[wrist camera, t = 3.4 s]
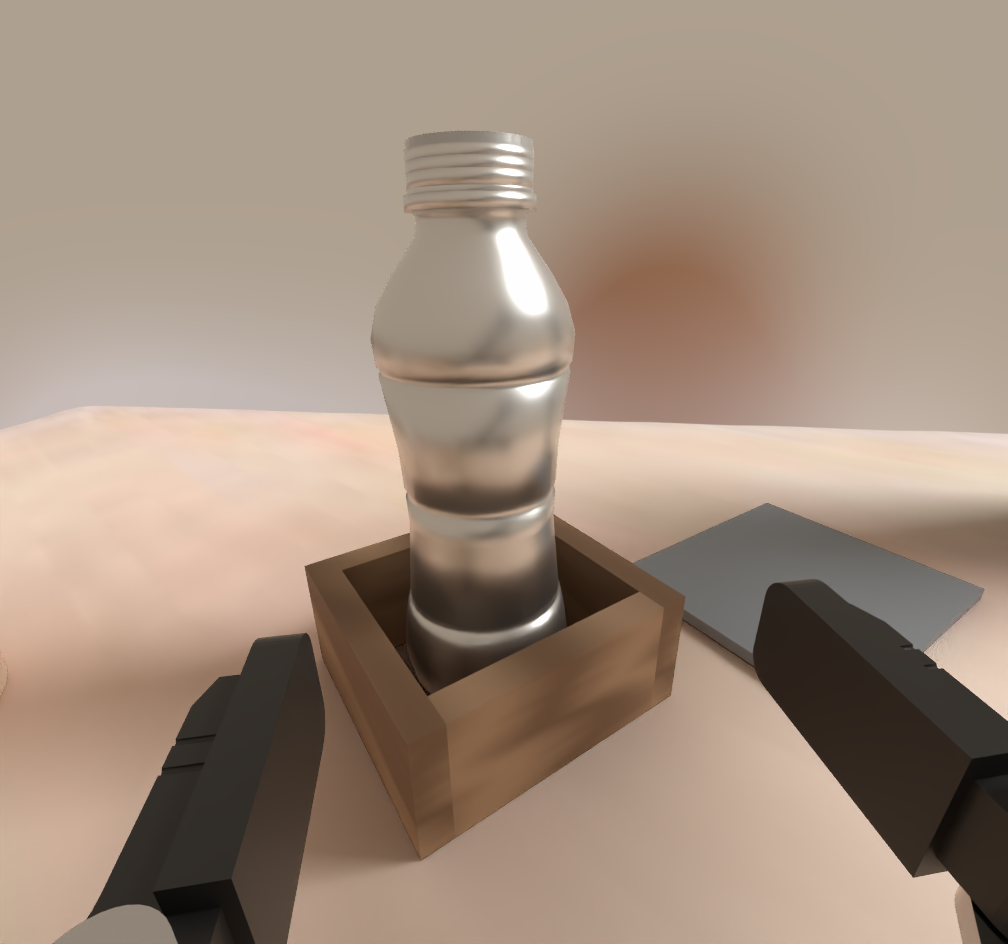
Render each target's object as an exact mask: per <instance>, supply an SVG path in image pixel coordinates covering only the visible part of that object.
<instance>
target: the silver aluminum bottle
mask: <svg viewBox="0 0 1008 944" xmlns="http://www.w3.org/2000/svg"><path fill="white" fill-rule="evenodd" d="M404 159H405V175H406V189H407V190H406V191H407V195H404V196H403V199H404V212H405V213H411V214H414V216H415V222H416V224H415V234H414V239H413V240H412V242H411V244H410V245H409V247H408V248H407V251H406V252H405V253H404V255H403V257H402V258H401V260H400V261H399V263H398V265H397V266H396V268H395V269H394V271H393V273H392V274H391V276H390V278H389V280H388V282H387V285H386V286H385V289H384V290H383V293H382V294H381V296H380V298H379V300H378V303H377V305H376V307H375V314H374V320H373V325H372V332H371V344H372V348H373V354H374V358H375V365H376V368H378V369H379V371H380V372H379V379H380V383H381V387H382V391H383V395H384V398H385V402H386V405H387V409H388V413H389V417H390V421H391V424H392V428H393V432H394V436H395V439H396V443H397V447H398V451H399V457H400V463H401V470H402V476H403V482H404V488H405V489H406V491H407V494H406V499H407V506H408V512H409V518H410V567H411V589H410V593H409V599H408V606H407V618H406V646H407V650H408V653H409V655H410V658H411V661H412V664H413V667H414V670H415V672H416V675H417V677H418V680H419V682H420V683H421V684H422V686H423V687H424V688H425V690H426V691H428V692H429V693H430V694H433V693H435V692H437V691H439V690H441V689H443V688H445V687H447V686H449V685H451V684H453V683H455V682H457V681H459V680H461V679H463V678H465V677H467V676H469V675H471V674H473V673H475V672H478V671H480V670H482V669H484V668H486V667H488V666H490V665H492V664H494V663H496V662H498V661H500V660H502V659H504V658H506V657H508V656H510V655H512V654H514V653H516V652H518V651H520V650H522V649H524V648H526V647H528V646H530V645H532V644H534V643H536V642H538V641H540V640H542V639H544V638H547V637H549V636H551V635H553V634H555V633H557V632H559V631H561V630H563V629H565V628H567V622H566V614H565V606H564V601H563V595H562V591H561V587H560V583H559V580H558V570H557V557H556V544H555V531H554V517H553V509H554V496H555V489H554V483H555V479H556V469H557V455H558V441H559V434H560V428H561V423H562V416H563V410H564V405H565V399H566V393H567V387H568V381H569V375H570V370H571V369H570V367H569V364H570V363H571V362H572V359H573V346H574V338H575V330H574V325H573V321H572V318H571V314H570V309H569V306H568V302H567V301H566V299H565V297H564V295H563V293H562V291H561V289H560V287H559V285H558V283H557V282H556V280H555V278H554V276H553V274H552V272H551V271H550V269H549V268H548V266H547V265H546V263H545V262H544V260H543V259H542V257H541V256H540V254H539V253H538V251H537V250H536V248H535V246H534V245H533V244H532V242H531V241H530V239H529V238H528V235H527V227H526V214H527V213H528V212H535V211H536V204H537V203H536V201H537V195H536V194H533V182H534V149H533V140H532V139H530V138H528V137H525V136H521V135H516V134H511V133H502V132H489V131H451V132H437V133H428V134H422V135H417V136H413V137H410V138H408V139H406V140H405V149H404Z"/></svg>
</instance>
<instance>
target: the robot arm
mask: <svg viewBox="0 0 1008 944" xmlns="http://www.w3.org/2000/svg"><path fill="white" fill-rule="evenodd" d="M753 661H754V666H755V670H756V672H757V675H758V677H759V679H760V681H761V683H762V684H763V686H764V687H765V688H766V690H767V691H768V692H769V694H770V695H771V696H772V697H773V699H774V700H775V701H776V703H777V704H778V705H779V706H780V708H781V709H782V710H783V711H784V713H785V714H786V715H787V717H788V718H789V719H790V720H791V722H792V723H793V724H794V726H795V727H796V728H797V729H798V731H799V732H800V733H801V735H802V736H803V737H804V738H805V740H806V741H807V742H808V744H809V745H810V746H811V747H812V749H813V750H814V751H815V752H816V754H817V755H818V756H819V758H820V759H821V760H822V761H823V763H824V764H825V765H826V767H827V768H828V769H829V770H830V772H831V773H832V774H833V776H834V777H835V778H836V779H837V781H838V782H839V783H840V784H841V786H842V787H843V788H844V790H845V791H846V792H847V793H848V795H849V796H850V797H851V799H852V800H853V801H854V802H855V804H856V805H857V806H858V808H859V809H860V810H861V811H862V813H863V814H864V815H865V817H866V818H867V819H868V820H869V822H870V823H871V824H872V825H873V827H874V828H875V829H876V831H877V832H878V833H879V834H880V836H881V837H882V838H883V840H884V841H885V842H886V843H887V845H888V846H889V847H890V849H891V850H892V851H893V852H894V854H895V855H896V856H897V858H898V859H899V860H900V861H901V863H902V864H903V865H904V866H905V868H906V869H907V870H908V872H909V873H910V874H911V875H912V877H913V878H914V877H919V876H924V875H929V874H934V873H939V872H944V871H948V872H949V873H950V874H951V875H952V876H953V877H954V879H955V880H956V881H957V882H958V883H959V885H960V886H959V887H958V889H957V891H956V894H955V908H956V913H957V918H958V923H959V928H960V933H961V938H962V943H963V944H1008V721H1007V720H1006V719H1004V718H1003V717H1002V716H1001V715H999V714H998V713H997V712H996V711H994V710H993V709H992V708H991V707H990V706H988V705H987V704H986V703H985V702H983V701H982V700H981V699H980V698H978V697H977V696H976V695H975V694H974V693H972V692H971V691H970V690H969V689H967V688H966V687H965V686H964V685H962V684H961V683H960V682H959V681H958V680H956V679H955V678H954V677H953V676H951V675H950V674H949V673H948V672H946V671H945V670H944V669H943V668H942V669H938V668H937V666H936V663H935V662H934V661H933V660H932V659H930V658H929V657H928V656H927V655H925V654H924V653H923V652H922V651H921V650H919V649H914V648H913V644H912V643H911V642H909V641H908V640H907V639H906V638H905V637H903V636H902V635H901V634H900V633H898V632H897V631H896V630H895V629H893V628H892V627H891V626H890V625H889V624H887V623H886V622H885V621H883V620H881V619H879V618H877V617H875V616H873V615H871V614H869V613H868V612H866V611H864V610H862V609H860V608H858V607H856V606H854V605H852V604H849V603H848V602H847V601H846V600H844V599H843V598H842V597H841V596H840V595H838V594H837V593H836V592H835V591H834V590H832V589H831V588H830V587H829V586H828V585H826V584H825V583H824V582H822V581H820V580H818V579H805V580H796V581H787V582H778V583H773V584H771V585H770V586H769V587H768V589H767V591H766V594H765V598H764V603H763V607H762V612H761V616H760V621H759V625H758V629H757V634H756V638H755V643H754V647H753ZM324 733H325V711H324V702H323V697H322V692H321V687H320V683H319V678H318V673H317V668H316V663H315V658H314V653H313V649H312V644H311V640H310V637H309V635H308V634H307V633H302V634H293V635H284V636H275V637H266V638H258V639H257V640H255V642H254V643H253V645H252V647H251V650H250V652H249V655H248V657H247V660H246V662H245V665H244V667H243V670H242V672H241V675H233V676H224V677H219V678H218V679H217V680H216V681H215V682H214V683H213V684H212V685H211V686H210V688H209V689H208V690H207V691H206V692H205V693H204V694H203V695H202V696H201V697H200V698H199V699H198V700H197V701H196V702H195V703H194V704H193V705H192V707H191V709H190V711H189V713H188V715H187V717H186V719H185V721H184V723H183V725H182V727H181V729H180V731H179V734H178V736H177V738H176V744H175V746H172V748H171V750H170V752H169V754H168V756H167V758H166V760H165V763H164V765H163V767H162V774H161V776H158V777H157V779H156V781H155V783H154V785H153V787H152V790H151V792H150V794H149V796H148V798H147V800H146V802H145V804H144V806H143V808H142V810H141V812H140V814H139V816H138V819H137V821H136V823H135V825H134V827H133V829H132V831H131V833H130V835H129V837H128V839H127V841H126V843H125V846H124V848H123V850H122V852H121V854H120V856H119V858H118V860H117V862H116V864H115V866H114V868H113V870H112V872H111V875H110V877H109V879H108V881H107V883H106V885H105V887H104V889H103V891H102V893H101V895H100V897H99V899H98V901H97V903H96V905H95V906H94V908H93V910H92V912H91V913H90V915H89V916H88V918H87V919H86V920H85V921H83V922H82V923H80V924H79V925H77V926H75V927H74V928H72V929H71V930H69V931H68V932H67V933H65V934H64V935H63V936H62V937H60V938H59V939H58V940H56V941H55V942H54V943H53V944H287V938H288V933H289V928H290V922H291V917H292V911H293V906H294V900H295V895H296V890H297V884H298V879H299V873H300V868H301V862H302V857H303V852H304V846H305V841H306V835H307V830H308V824H309V819H310V814H311V808H312V803H313V797H314V792H315V787H316V781H317V776H318V770H319V765H320V759H321V754H322V749H323V743H324Z"/></svg>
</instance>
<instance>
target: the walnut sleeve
mask: <svg viewBox="0 0 1008 944" xmlns="http://www.w3.org/2000/svg"><path fill="white" fill-rule="evenodd" d="M553 517H554V531H555V544H556V557H557V570H558V580H559V583H560V587H561V591H562V595H563V601H564V606H565V614H566V622H567V628H565V629H563V630H561V631H559V632H557V633H555V634H553V635H551V636H549V637H547V638H544V639H542V640H540V641H538V642H536V643H534V644H532V645H530V646H528V647H526V648H524V649H522V650H520V651H518V652H516V653H514V654H512V655H510V656H508V657H506V658H504V659H502V660H500V661H498V662H496V663H494V664H492V665H490V666H488V667H486V668H484V669H482V670H480V671H478V672H475V673H473V674H471V675H469V676H467V677H465V678H463V679H461V680H459V681H457V682H455V683H453V684H451V685H449V686H447V687H445V688H443V689H441V690H439V691H437V692H435V693H433V694H431V695H429V696H427V695H426V694H425V692H424V691H423V689H422V688H421V686H420V685H419V683H418V682H417V680H416V679H415V677H414V676H413V674H412V673H411V671H410V670H409V669H408V667H407V666H406V664H405V663H404V661H403V660H402V658H401V657H400V655H399V654H398V652H397V651H396V649H395V648H394V647H396V646H398V645H401V644H403V643H406V618H407V606H408V599H409V593H410V589H411V567H410V533H408V534H405V535H402V536H399V537H395V538H392V539H389V540H386V541H383V542H380V543H376V544H373V545H370V546H367V547H364V548H361V549H357V550H354V551H351V552H348V553H345V554H342V555H338V556H335V557H332V558H329V559H326V560H322V561H319V562H316V563H313V564H310V565H307V566H305V571H306V576H307V581H308V586H309V591H310V597H311V602H312V607H313V612H314V617H315V622H316V627H317V632H318V638H319V643H320V648H321V653H322V658H323V660H324V662H325V664H326V666H327V668H328V670H329V673H330V675H331V677H332V679H333V681H334V683H335V685H336V687H337V689H338V691H339V693H340V695H341V697H342V699H343V701H344V703H345V705H346V707H347V710H348V712H349V714H350V716H351V718H352V720H353V722H354V724H355V726H356V728H357V730H358V732H359V734H360V736H361V738H362V740H363V742H364V744H365V747H366V749H367V751H368V753H369V755H370V757H371V759H372V761H373V763H374V765H375V767H376V769H377V771H378V773H379V775H380V777H381V779H382V781H383V784H384V786H385V788H386V790H387V792H388V794H389V796H390V798H391V800H392V802H393V804H394V806H395V808H396V810H397V812H398V814H399V816H400V818H401V821H402V823H403V825H404V827H405V829H406V831H407V833H408V835H409V837H410V839H411V841H412V843H413V845H414V847H415V849H416V851H417V853H418V855H419V858H420V860H422V859H424V858H425V857H427V856H428V855H430V854H431V853H433V852H434V851H436V850H437V849H439V848H440V847H442V846H443V845H445V844H446V843H448V842H449V841H451V840H452V839H454V838H455V837H457V836H459V835H460V834H462V833H463V832H465V831H466V830H468V829H469V828H471V827H472V826H474V825H475V824H477V823H478V822H480V821H481V820H483V819H484V818H486V817H487V816H489V815H490V814H492V813H493V812H495V811H496V810H498V809H499V808H501V807H502V806H504V805H505V804H507V803H508V802H510V801H511V800H513V799H514V798H516V797H517V796H519V795H521V794H522V793H524V792H525V791H527V790H528V789H530V788H531V787H533V786H534V785H536V784H537V783H539V782H540V781H542V780H543V779H545V778H546V777H548V776H549V775H551V774H552V773H554V772H555V771H557V770H558V769H560V768H561V767H563V766H564V765H566V764H567V763H569V762H570V761H572V760H573V759H575V758H576V757H578V756H579V755H581V754H583V753H584V752H586V751H587V750H589V749H590V748H592V747H593V746H595V745H596V744H598V743H599V742H601V741H602V740H604V739H605V738H607V737H608V736H610V735H611V734H613V733H614V732H616V731H617V730H619V729H620V728H622V727H623V726H625V725H626V724H628V723H629V722H631V721H632V720H634V719H635V718H637V717H638V716H640V715H641V714H643V713H645V712H646V711H648V710H649V709H651V708H652V707H654V706H655V705H657V704H658V703H660V702H661V701H663V700H664V699H666V698H667V697H669V696H670V695H671V690H672V683H673V676H674V670H675V663H676V657H677V650H678V643H679V637H680V630H681V624H682V617H683V611H684V604H685V597H686V596H684V595H682V594H681V593H679V592H677V591H676V590H674V589H673V588H671V587H669V586H668V585H666V584H665V583H663V582H661V581H660V580H658V579H657V578H655V577H653V576H652V575H650V574H648V573H647V572H645V571H644V570H642V569H640V568H639V567H637V566H636V565H634V564H632V563H631V562H629V561H628V560H626V559H624V558H623V557H621V556H620V555H618V554H616V553H615V552H613V551H611V550H610V549H608V548H607V547H605V546H603V545H602V544H600V543H599V542H597V541H595V540H594V539H592V538H591V537H589V536H587V535H586V534H584V533H583V532H581V531H579V530H578V529H576V528H574V527H573V526H571V525H570V524H568V523H566V522H565V521H563V520H562V519H560V518H558V517H557V516H555V515H554V514H553Z"/></svg>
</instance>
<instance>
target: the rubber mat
mask: <svg viewBox="0 0 1008 944" xmlns="http://www.w3.org/2000/svg"><path fill="white" fill-rule="evenodd" d="M632 564H634V565H636V566H637V567H639V568H640V569H642V570H644V571H645V572H647V573H648V574H650V575H652V576H653V577H655V578H657V579H658V580H660V581H661V582H663V583H665V584H666V585H668V586H669V587H671V588H673V589H674V590H676V591H677V592H679V593H681V594H682V595H684V596H686V597H685V604H684V611H683V617H682V619H683V620H685V621H686V622H688V623H689V624H691V625H692V626H694V627H695V628H697V629H698V630H700V631H701V632H703V633H704V634H706V635H707V636H709V637H710V638H712V639H713V640H715V641H716V642H718V643H719V644H721V645H722V646H724V647H725V648H727V649H728V650H730V651H731V652H733V653H734V654H736V655H737V656H739V657H740V658H742V659H743V660H745V661H746V662H748V663H749V664H751V665H752V666H754V661H753V647H754V643H755V638H756V634H757V629H758V625H759V621H760V616H761V612H762V607H763V603H764V598H765V594H766V591H767V589H768V587H769V586H770V585H771V584H773V583H778V582H787V581H796V580H805V579H818V580H820V581H822V582H824V583H825V584H826V585H828V586H829V587H830V588H831V589H832V590H834V591H835V592H836V593H837V594H838V595H840V596H841V597H842V598H843V599H844V600H846V601H847V602H848V603H849V604H852V605H854V606H856V607H858V608H860V609H862V610H864V611H866V612H868V613H869V614H871V615H873V616H875V617H877V618H879V619H881V620H883V621H885V622H886V623H887V624H889V625H890V626H891V627H892V628H893V629H895V630H896V631H897V632H898V633H900V634H901V635H902V636H903V637H905V638H906V639H907V640H908V641H909V642H911V643H912V644H913V648H914V649H919V650H921V651H922V652H924V651H925V650H926V649H927V648H928V647H930V646H931V645H932V644H933V643H934V642H935V641H936V640H937V639H938V638H939V637H940V636H941V635H942V634H943V633H944V632H946V631H947V630H948V629H949V628H950V627H951V626H952V625H953V624H954V623H955V622H956V621H957V620H958V619H959V618H961V617H962V616H963V615H964V614H965V613H966V612H967V611H968V610H969V609H970V608H971V607H972V606H973V605H974V604H975V603H977V602H978V601H979V600H980V599H981V597H982V594H983V592H984V589H983V588H980V587H978V586H975V585H973V584H970V583H968V582H965V581H962V580H960V579H957V578H955V577H952V576H950V575H947V574H945V573H942V572H940V571H937V570H935V569H932V568H930V567H927V566H925V565H922V564H920V563H917V562H915V561H912V560H910V559H907V558H905V557H902V556H900V555H897V554H895V553H892V552H890V551H887V550H884V549H882V548H879V547H877V546H874V545H872V544H869V543H867V542H864V541H862V540H859V539H857V538H854V537H852V536H849V535H847V534H844V533H842V532H839V531H837V530H834V529H832V528H829V527H827V526H824V525H822V524H819V523H817V522H814V521H812V520H809V519H807V518H804V517H801V516H799V515H796V514H794V513H791V512H789V511H786V510H784V509H781V508H779V507H776V506H774V505H771V504H769V503H766V504H763V505H761V506H759V507H757V508H755V509H752V510H750V511H748V512H746V513H743V514H741V515H739V516H737V517H735V518H732V519H730V520H728V521H726V522H723V523H721V524H719V525H717V526H715V527H712V528H710V529H708V530H706V531H703V532H701V533H699V534H697V535H695V536H692V537H690V538H688V539H686V540H684V541H681V542H679V543H677V544H675V545H672V546H670V547H668V548H666V549H664V550H661V551H659V552H657V553H655V554H652V555H650V556H648V557H646V558H644V559H641V560H639V561H637V562H635V563H632ZM754 667H755V666H754Z"/></svg>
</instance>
